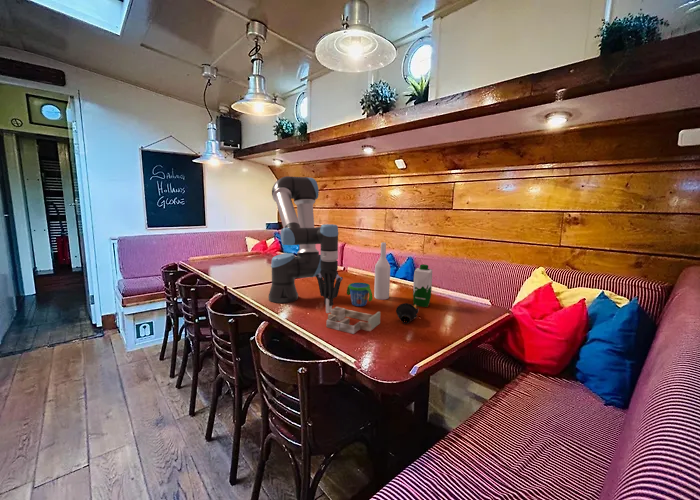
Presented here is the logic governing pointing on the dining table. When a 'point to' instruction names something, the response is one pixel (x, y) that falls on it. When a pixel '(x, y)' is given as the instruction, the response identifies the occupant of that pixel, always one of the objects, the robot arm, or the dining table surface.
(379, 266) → the bottle
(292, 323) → the dining table surface
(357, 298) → the snack cup
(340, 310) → the cream block
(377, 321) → the box
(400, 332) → the dining table surface
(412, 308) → the fried shrimp in bowl
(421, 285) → the milk carton
